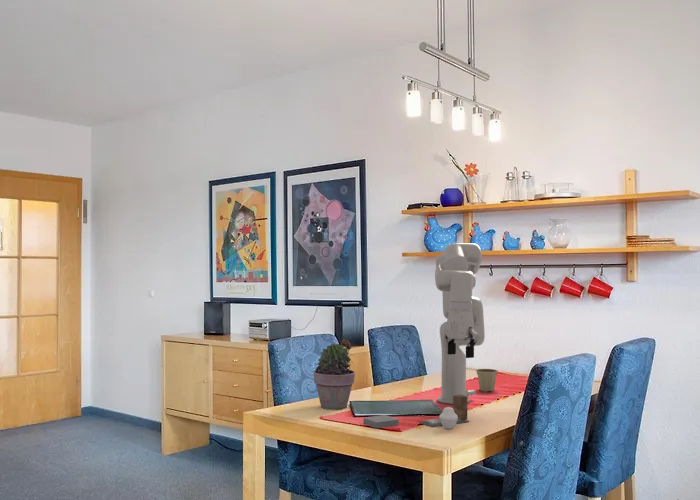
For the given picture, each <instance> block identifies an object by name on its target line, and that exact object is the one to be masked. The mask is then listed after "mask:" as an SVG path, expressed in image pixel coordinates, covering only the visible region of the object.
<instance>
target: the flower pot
mask: <svg viewBox="0 0 700 500" xmlns="http://www.w3.org/2000/svg"><path fill="white" fill-rule="evenodd" d="M475 372H476V374H477V379H478V386H479V387H478V388H479V391H482V392H494V391H495V389H496V388H495V387H496V380H497V375H498V372H499V370H498V369H493V368H478V369H476V370H475Z"/></svg>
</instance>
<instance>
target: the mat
mask: <svg viewBox="0 0 700 500" xmlns="http://www.w3.org/2000/svg"><path fill="white" fill-rule="evenodd" d="M469 422H470V420H468V419H467V420H460V421H457V422H456V424H455V425H458V424H463V423H464V424H465V423H469ZM418 423H419V424H421V425H424V426H427V427H431V428H435V427H443V425H442V423H441V424H434V425H432V424H429V423H426V422H425V420H423V421H419V422H418Z"/></svg>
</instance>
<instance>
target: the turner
mask: <svg viewBox="0 0 700 500" xmlns="http://www.w3.org/2000/svg"><path fill="white" fill-rule="evenodd" d="M468 398H469V396H464V395H454V396H453V404H452V408H453V409H454V412H455V414H456V415H457V416H458V419H457V421H460V420H468V404H469V403H468ZM424 421H425V422H426V423H429V424H432V425H434V424H441V421H440V418H439V417H438V418H432V419H424Z"/></svg>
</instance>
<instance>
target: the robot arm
mask: <svg viewBox="0 0 700 500" xmlns="http://www.w3.org/2000/svg"><path fill="white" fill-rule="evenodd" d="M444 248H445V249H444V253H442V254H439V255H438V256H437V257H436V260H435V272H434V280H435V286H436V288H437V289H438V291H440V292H441V293H442V313H443V317H444V318H445V319H446V320H447V321H445V322H443V323H442V324H441V325H440V326H439V337H440V344H441V345H440V346H441V395H440V396H438V397H437V399H436V400H437V402H439V403H442V404H448V405H453V396H454V395H464V396H468V403H467V404H469V403H470V402H471V401H470V400H471V399H470V398H469V396H474V395H476V390H475V389H471V390H469V389H466V387H467V386H466V385H467V382H466V381H467V359H472V358H473V359H474V358H475V347H477V346H481V345H483V343H484V342H485V319H484V318H485V317H484V316H485V315H484V306H483V303H482V300H481V299H480V298H479V297H476V296H473V289H474V288H475V287H476V275H475V274H478V272H479V270H480V267H481V263H482V256H483V253H482V249H481V247H480V246H479V245H478V244H477V243H469V242H467V243H466V242H465V243H464V242H463V243H461V242H459V243H457V242H454V243H450V244H448V245H446V247H444ZM461 346H465V353H464V351H463V350H462V349H461Z"/></svg>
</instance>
